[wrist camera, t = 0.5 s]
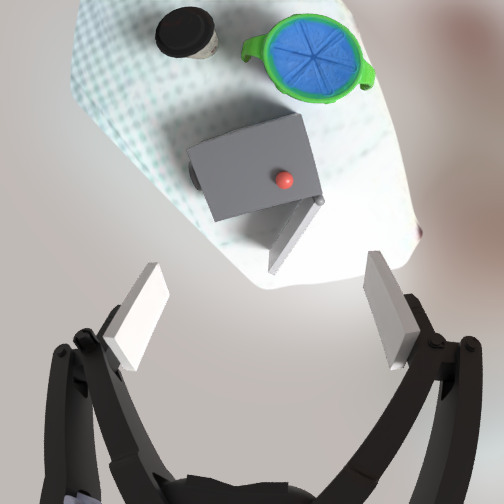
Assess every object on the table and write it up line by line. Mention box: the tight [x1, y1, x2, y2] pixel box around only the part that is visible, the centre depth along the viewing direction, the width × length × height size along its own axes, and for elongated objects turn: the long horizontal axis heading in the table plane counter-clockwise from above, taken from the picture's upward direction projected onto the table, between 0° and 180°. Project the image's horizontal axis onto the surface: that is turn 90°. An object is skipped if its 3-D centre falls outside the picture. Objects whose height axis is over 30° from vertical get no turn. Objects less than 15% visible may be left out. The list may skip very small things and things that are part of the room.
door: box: [268, 194, 325, 275], centre depth 38 cm, size 2×13×6 cm, turn 153°
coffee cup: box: [155, 7, 219, 59], centre depth 25 cm, size 7×7×10 cm
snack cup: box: [241, 14, 375, 104], centre depth 26 cm, size 16×10×10 cm
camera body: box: [187, 113, 322, 222], centre depth 34 cm, size 10×15×8 cm, turn 108°
